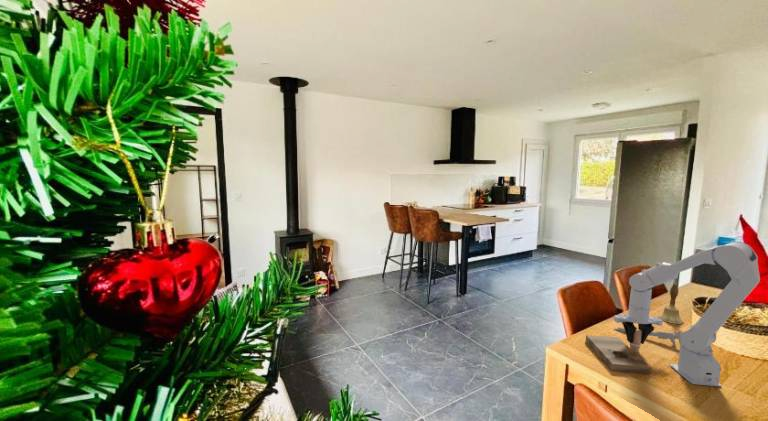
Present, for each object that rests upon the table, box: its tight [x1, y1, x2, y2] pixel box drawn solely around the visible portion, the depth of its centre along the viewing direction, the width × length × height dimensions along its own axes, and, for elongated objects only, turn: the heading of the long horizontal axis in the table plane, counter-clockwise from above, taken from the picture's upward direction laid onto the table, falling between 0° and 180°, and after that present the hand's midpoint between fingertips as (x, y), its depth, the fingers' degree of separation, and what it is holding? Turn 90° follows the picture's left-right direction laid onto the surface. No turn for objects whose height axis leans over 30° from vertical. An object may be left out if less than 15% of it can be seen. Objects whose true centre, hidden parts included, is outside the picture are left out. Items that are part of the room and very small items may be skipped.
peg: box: [629, 327, 642, 353], centre depth 114 cm, size 3×3×8 cm
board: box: [585, 334, 651, 375], centre depth 110 cm, size 18×11×2 cm, turn 171°
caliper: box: [613, 326, 681, 347], centre depth 122 cm, size 20×1×6 cm, turn 49°
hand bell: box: [657, 283, 684, 325], centre depth 136 cm, size 8×8×16 cm
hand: (635, 342), depth 114 cm, fingers closed on peg, 3 cm apart
